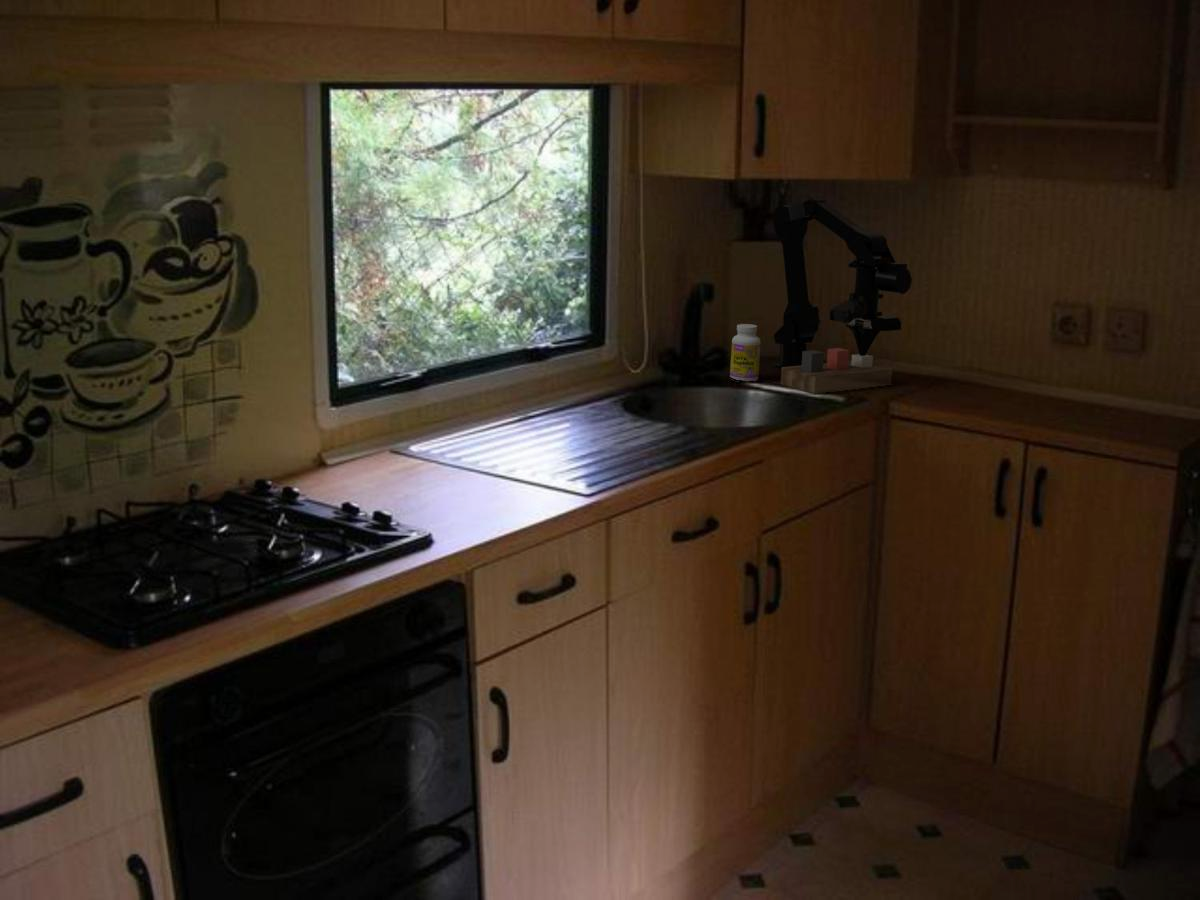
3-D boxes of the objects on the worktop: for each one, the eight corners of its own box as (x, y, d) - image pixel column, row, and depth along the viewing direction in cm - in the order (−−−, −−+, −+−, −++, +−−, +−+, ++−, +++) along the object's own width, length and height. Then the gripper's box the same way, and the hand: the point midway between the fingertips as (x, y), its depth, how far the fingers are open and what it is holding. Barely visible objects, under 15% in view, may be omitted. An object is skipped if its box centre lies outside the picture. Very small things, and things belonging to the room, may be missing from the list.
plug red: (826, 370, 316) (827, 348, 315) (837, 369, 318) (839, 347, 316) (836, 372, 313) (837, 351, 312) (847, 371, 315) (848, 350, 314)
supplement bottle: (727, 381, 318) (729, 326, 314) (732, 376, 324) (735, 322, 321) (755, 383, 316) (758, 328, 313) (760, 378, 322) (763, 324, 319)
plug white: (850, 375, 320) (852, 354, 319) (861, 374, 322) (863, 353, 321) (860, 378, 317) (861, 357, 316) (871, 377, 319) (872, 356, 318)
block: (780, 384, 315) (781, 367, 314) (856, 376, 327) (857, 359, 326) (814, 394, 306) (815, 376, 305) (891, 385, 317) (892, 368, 316)
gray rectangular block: (801, 372, 312) (802, 351, 311) (812, 371, 314) (814, 350, 313) (810, 375, 309) (812, 353, 308) (822, 374, 311) (823, 352, 310)
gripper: (813, 285, 318) (809, 351, 322) (868, 295, 303) (863, 365, 307) (850, 283, 324) (845, 348, 328) (905, 293, 309) (900, 361, 312)
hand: (862, 355), depth 319 cm, fingers closed, pressing on plug white
